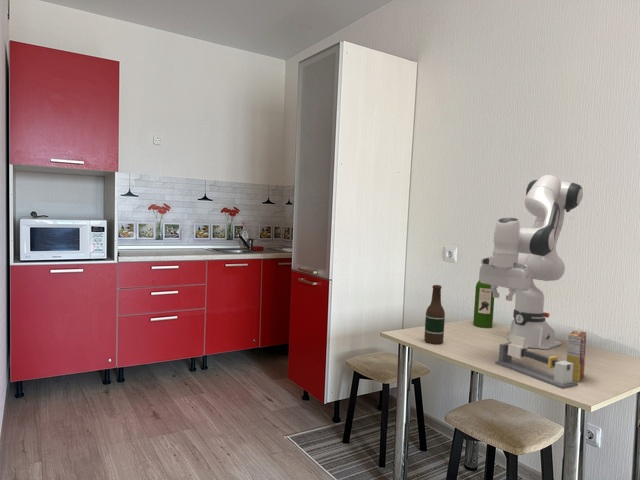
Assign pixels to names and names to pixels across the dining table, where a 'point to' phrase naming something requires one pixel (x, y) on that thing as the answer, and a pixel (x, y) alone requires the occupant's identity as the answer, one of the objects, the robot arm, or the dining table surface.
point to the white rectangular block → (517, 347)
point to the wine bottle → (483, 306)
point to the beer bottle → (435, 318)
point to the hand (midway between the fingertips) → (502, 299)
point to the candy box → (577, 353)
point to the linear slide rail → (559, 378)
